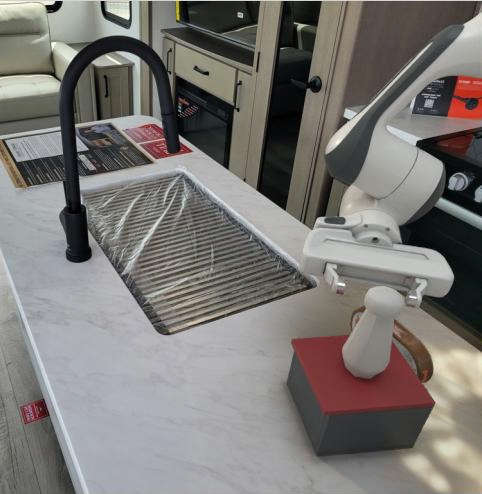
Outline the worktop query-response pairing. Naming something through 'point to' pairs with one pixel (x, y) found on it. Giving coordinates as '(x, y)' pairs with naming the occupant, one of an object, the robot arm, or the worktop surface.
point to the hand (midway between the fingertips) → (375, 297)
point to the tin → (406, 347)
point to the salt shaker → (373, 333)
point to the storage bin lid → (357, 380)
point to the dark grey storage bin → (353, 423)
